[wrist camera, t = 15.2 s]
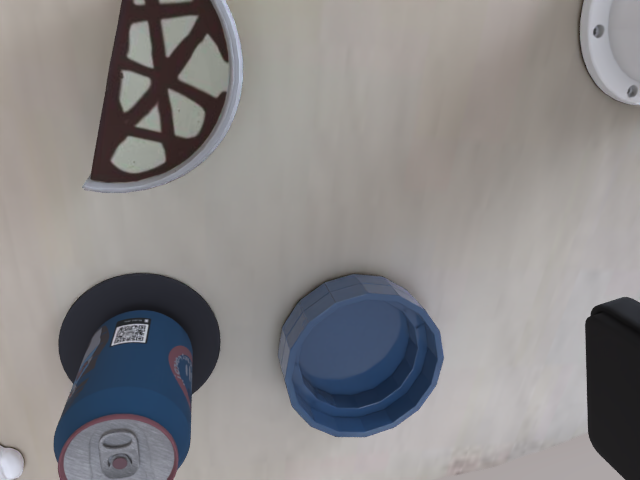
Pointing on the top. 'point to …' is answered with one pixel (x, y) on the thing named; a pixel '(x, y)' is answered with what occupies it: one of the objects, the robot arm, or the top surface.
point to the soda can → (129, 402)
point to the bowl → (359, 356)
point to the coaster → (141, 295)
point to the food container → (166, 92)
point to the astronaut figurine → (10, 463)
